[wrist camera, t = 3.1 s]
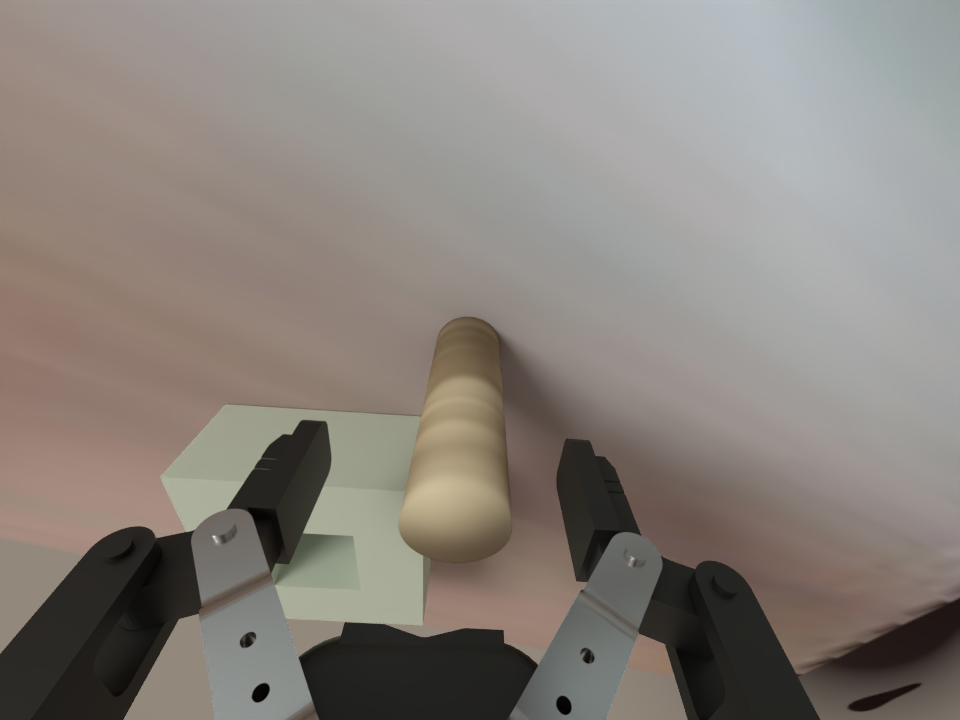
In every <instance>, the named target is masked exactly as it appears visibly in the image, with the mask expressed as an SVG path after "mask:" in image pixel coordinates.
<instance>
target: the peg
mask: <svg viewBox="0 0 960 720" xmlns="http://www.w3.org/2000/svg"><path fill="white" fill-rule="evenodd" d="M398 527H399V532H400V535H401V537H402V539H403V540H404V541H405V543H406V544H407V545H408V546H409V547H410V548H412V549H413V550H414V551H416V552H417V553H419V554H421V555H423V556H425V557H428V558H430V559H434V560H437V561H442V562H450V563H466V562H473V561H478V560H481V559H484V558H487V557H489V556H491V555H493V554H495V553H497V552H498V551H499V550H501V549H502V548H503V547H504V546H505V545H506V543H507V542H508V540H509V538H510V536H511V532H512V521H511V506H510V491H509V476H508V461H507V446H506V431H505V416H504V401H503V386H502V371H501V356H500V342H499V337H498V335H497V333H496V331H495V330H494V329H493V327H492V326H491V325H489V324H488V323H487V322H485V321H483V320H481V319H478V318H474V317H461V318H457V319H455V320H452V321H450V322H449V323H447V324H446V325H445V326H444V327H443V328H442V330H441V331H440V333H439V335H438V338H437V343H436V347H435V352H434V357H433V362H432V366H431V371H430V376H429V380H428V385H427V390H426V395H425V399H424V404H423V409H422V413H421V418H420V423H419V427H418V432H417V437H416V442H415V446H414V451H413V456H412V460H411V465H410V470H409V474H408V479H407V484H406V489H405V493H404V498H403V503H402V507H401V512H400V517H399V522H398Z"/></svg>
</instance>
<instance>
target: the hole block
mask: <svg viewBox="0 0 960 720" xmlns="http://www.w3.org/2000/svg"><path fill="white" fill-rule="evenodd" d="M420 418H421V417H419V416H403V415H387V414H372V413H356V412H340V411H324V410H309V409H293V408H277V407H261V406H245V405H230V404H225V405H224V407H223V408H222V409H221V410H220V411H219V412H218V413H217V414H216V415H215V417H214V418H213V419H212V420H211V421H210V422H209V423H208V424H207V425H206V426H205V428H204V429H203V430H202V431H201V432H200V433H199V434H198V435H197V436H196V438H195V439H194V440H193V441H192V442H191V443H190V444H189V445H188V446H187V448H186V449H185V450H184V451H183V452H182V453H181V454H180V455H179V456H178V458H177V459H176V460H175V461H174V462H173V463H172V464H171V465H170V466H169V467H168V469H167V470H166V471H165V472H164V473H163V474H162V475H161V476H160V478H161V480H162V482H163V485H164V487H165V489H166V491H167V493H168V495H169V497H170V499H171V501H172V503H173V506H174V508H175V510H176V512H177V514H178V516H179V518H180V520H181V522H182V524H183V527H184V529H185V531H186V532H189V531H193V530H195V529H196V528H197V527H198V526H199V524H200V523H202V522H203V521H204V520H205V519H207V518H208V517H210V516H211V515H213V514H215V513H217V512H220V511H223V510H226V509H227V507H228V506H229V504H230V503H231V501H232V500H233V498H234V497H235V495H236V494H237V492H238V491H239V489H240V488H241V486H242V485H243V483H244V482H245V480H246V479H247V477H248V476H249V474H250V473H251V471H252V470H254V467H255V465H256V464H257V462H258V461H259V460H261V456H262V455H263V453H264V452H265V450H266V449H267V447H268V446H269V444H271V443H272V442H273V441H275V440H276V439H277V438H279V437H280V436H281V435H283V434H289V435H292V433H293V432H294V430H295V429H296V427H297V425H298V424H299V422H300V421H301V420H316V421H326V422H327V425H328V432H329V440H330V447H331V456H332V460H331V467H330V472H329V474H328V477H327V479H326V481H325V484H324V486H323V488H322V491H321V493H320V495H319V497H318V500H317V502H316V504H315V507H314V509H313V511H312V513H311V516H310V518H309V520H308V522H307V525H306V527H305V529H304V532H303V534H302V536H301V538H300V541H299V543H298V545H297V548H296V550H295V552H294V554H293V557H292V559H291V561H290V564H275V566H274V569H273V571H272V573H271V575H272V578H273V581H274V584H275V587H276V590H277V593H278V596H279V599H280V602H281V605H282V608H283V612H284V615H285V618H286V619H305V620H325V621H345V622H365V623H366V622H367V623H386V624H388V623H389V624H406V625H407V624H408V625H423V621H424V613H425V604H426V596H427V588H428V580H429V571H430V563H431V559H430V558H428V557H425V556H423V555H421V554H419V553H417V552H416V551H414V550H413V549H412V548H410V547H409V546H408V545H407V544H406V543H405V541H404V540H403V539H402V537H401V535H400V532H399V527H398V522H399V517H400V512H401V507H402V503H403V498H404V493H405V489H406V484H407V479H408V474H409V470H410V465H411V460H412V456H413V451H414V446H415V442H416V437H417V432H418V427H419V423H420Z"/></svg>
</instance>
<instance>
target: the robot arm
mask: <svg viewBox="0 0 960 720" xmlns="http://www.w3.org/2000/svg"><path fill="white" fill-rule="evenodd" d="M331 460H332V456H331V447H330V440H329V432H328V425H327V422H326V421H316V420H301V421H300V422H299V424H298V425H297V427H296V429H295V430H294V432H293V433H292V435H289V434H283V435H281V436H280V437H279V438H277V439H276V440H275V441H273V442H272V443H271V444H269V446H268V447H267V449H266V450H265V452H264V453H263V455H262V456H261V460H259V461H258V462H257V464H256V465H255V467H254V470H252V471H251V473H250V474H249V476H248V477H247V479H246V480H245V482H244V483H243V485H242V486H241V488H240V489H239V491H238V492H237V494H236V495H235V497H234V498H233V500H232V501H231V503H230V504H229V506H228V507H227V509H226V510H223V511H220V512H217V513H215V514H213V515H211V516H210V517H208V518H207V519H205V520H204V521H203V522H202V523H200V524H199V526H198V527H197V528H196V529H195V530H193V531H189V532H185V533H180V534H175V535H170V536H165V537H160V538H156V537H155V535H154V533H153V531H151V530H150V529H148V528H146V527H140V526H137V527H129V528H125V529H121V530H119V531H116V532H114V533H112V534H110V535H108V536H106V537H104V538H103V539H101V540H100V541H98V542H97V543H96V544H95V545H94V546H92V547H91V549H90V550H89V551H88V552H87V553H86V554H85V555H84V556H83V558H82V559H81V560H80V561H79V562H78V564H77V565H76V566H75V567H74V568H73V569H72V571H71V572H70V573H69V574H68V575H67V576H66V578H65V579H64V580H63V581H62V582H61V583H60V585H59V586H58V587H57V588H56V589H55V590H54V592H53V593H52V594H51V595H50V597H49V598H48V599H47V600H46V601H45V602H44V603H43V605H42V606H41V607H40V608H39V609H38V610H37V612H36V613H35V614H34V615H33V616H32V617H31V619H30V620H29V621H28V622H27V623H26V625H25V626H24V627H23V628H22V629H21V631H19V633H18V634H17V635H16V636H15V637H14V638H13V640H12V641H11V642H10V643H9V645H8V646H7V647H6V648H5V649H4V650H3V651H2V653H1V654H0V720H123V719H124V717H125V716H126V714H127V712H128V710H129V708H130V706H131V705H132V703H133V701H134V699H135V697H136V696H137V694H138V692H139V690H140V688H141V686H142V685H143V683H144V681H145V679H146V678H147V676H148V674H149V672H150V670H151V669H152V667H153V665H154V663H155V661H156V659H157V658H158V656H159V654H160V652H161V650H162V649H163V647H164V645H165V643H166V641H167V639H168V638H169V636H170V634H171V632H172V631H173V629H174V627H175V625H176V623H177V621H178V620H179V619H180V618H184V617H188V616H192V615H195V614H199V619H200V625H201V632H202V638H203V644H204V651H205V657H206V663H207V669H208V676H209V682H210V688H211V694H212V700H213V707H214V713H215V719H216V720H606V717H607V715H608V712H609V709H610V707H611V704H612V701H613V699H614V697H615V694H616V691H617V689H618V686H619V684H620V681H621V678H622V676H623V673H624V670H625V668H626V665H627V663H628V660H629V658H630V655H631V653H632V650H633V647H634V645H635V642H636V640H637V637H638V634H642V635H644V636H647V637H649V638H652V639H654V640H657V641H659V642H662V643H664V644H665V646H666V649H667V652H668V656H669V659H670V662H671V666H672V669H673V672H674V675H675V679H676V682H677V685H678V689H679V692H680V695H681V698H682V702H683V705H684V708H685V712H686V715H687V718H688V720H820V718H819V717H818V715H817V713H816V711H815V709H814V707H813V705H812V703H811V702H810V700H809V698H808V696H807V694H806V692H805V690H804V688H803V686H802V684H801V682H800V681H799V679H798V677H797V675H796V673H795V671H794V669H793V667H792V665H791V663H790V661H789V660H788V658H787V656H786V654H785V652H784V650H783V648H782V646H781V644H780V643H779V641H778V639H777V637H776V635H775V633H774V631H773V629H772V627H771V625H770V624H769V622H768V620H767V618H766V616H765V614H764V612H763V610H762V608H761V606H760V605H759V603H758V601H757V599H756V597H755V595H754V593H753V591H752V589H751V588H750V586H749V584H748V583H747V582H746V581H745V579H744V578H743V577H742V576H741V575H740V574H739V573H737V572H736V571H735V570H733V569H732V568H730V567H729V566H727V565H725V564H722V563H719V562H716V561H704V562H701V563H700V564H699V565H698V566H697V567H696V569H693V568H690V567H687V566H684V565H681V564H678V563H676V562H673V561H670V560H668V559H666V558H664V557H662V556H660V554H659V552H658V550H657V549H656V548H655V546H654V545H653V544H652V543H651V542H649V541H648V540H647V539H645V538H644V537H642V536H641V534H640V531H639V529H638V526H637V524H636V521H635V519H634V516H633V513H632V511H631V508H630V506H629V503H628V501H627V498H626V496H625V495H624V490H623V488H622V485H621V484H620V480H619V478H618V475H617V473H616V470H615V468H614V467H613V466H612V465H611V464H610V463H609V461H608V460H607V459H606V458H605V457H600V456H595V454H594V451H593V448H592V445H591V443H590V441H589V440H578V439H566V441H565V443H564V447H563V451H562V455H561V459H560V463H559V467H558V471H557V491H558V496H559V501H560V506H561V510H562V515H563V520H564V525H565V529H566V534H567V539H568V544H569V548H570V553H571V558H572V563H573V567H574V572H575V577H576V581H579V582H587V584H586V586H585V588H584V589H583V590H581V591H580V592H579V594H578V596H577V597H576V599H575V601H574V603H573V604H572V606H571V608H570V610H569V612H568V613H567V615H566V617H565V619H564V620H563V622H562V624H561V626H560V628H559V629H558V631H557V633H556V635H555V636H554V638H553V640H552V642H551V644H550V645H549V647H548V649H547V651H546V652H545V654H544V656H543V658H542V660H541V661H540V663H539V665H538V664H537V663H536V662H534V661H533V660H532V659H531V658H530V657H529V656H527V655H526V654H525V653H523V652H522V651H520V650H518V649H516V648H515V647H513V646H511V645H508V644H505V643H504V631H503V630H490V629H470V628H464V629H460V630H456V631H451V632H447V633H443V634H439V635H435V636H431V637H419V636H416V635H413V634H410V633H407V632H405V631H402V630H399V629H396V628H393V627H390V626H387V625H385V624H367V623H347V622H345V624H344V627H343V631H342V634H341V636H338V637H334V638H332V639H329V640H326V641H324V642H322V643H320V644H318V645H316V646H314V647H312V648H311V649H309V650H308V651H306V652H305V653H303V654H302V655H301V656H300V657H298V655H297V652H296V649H295V645H294V642H293V639H292V636H291V633H290V630H289V627H288V624H287V621H286V618H285V615H284V612H283V608H282V605H281V602H280V599H279V596H278V593H277V590H276V587H275V584H274V581H273V578H272V575H271V573H272V571H273V569H274V566H275V564H290V561H291V559H292V557H293V554H294V552H295V550H296V548H297V545H298V543H299V541H300V538H301V536H302V534H303V532H304V529H305V527H306V525H307V522H308V520H309V518H310V516H311V513H312V511H313V509H314V507H315V504H316V502H317V500H318V497H319V495H320V493H321V491H322V488H323V486H324V484H325V481H326V479H327V477H328V474H329V472H330V467H331Z"/></svg>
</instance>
